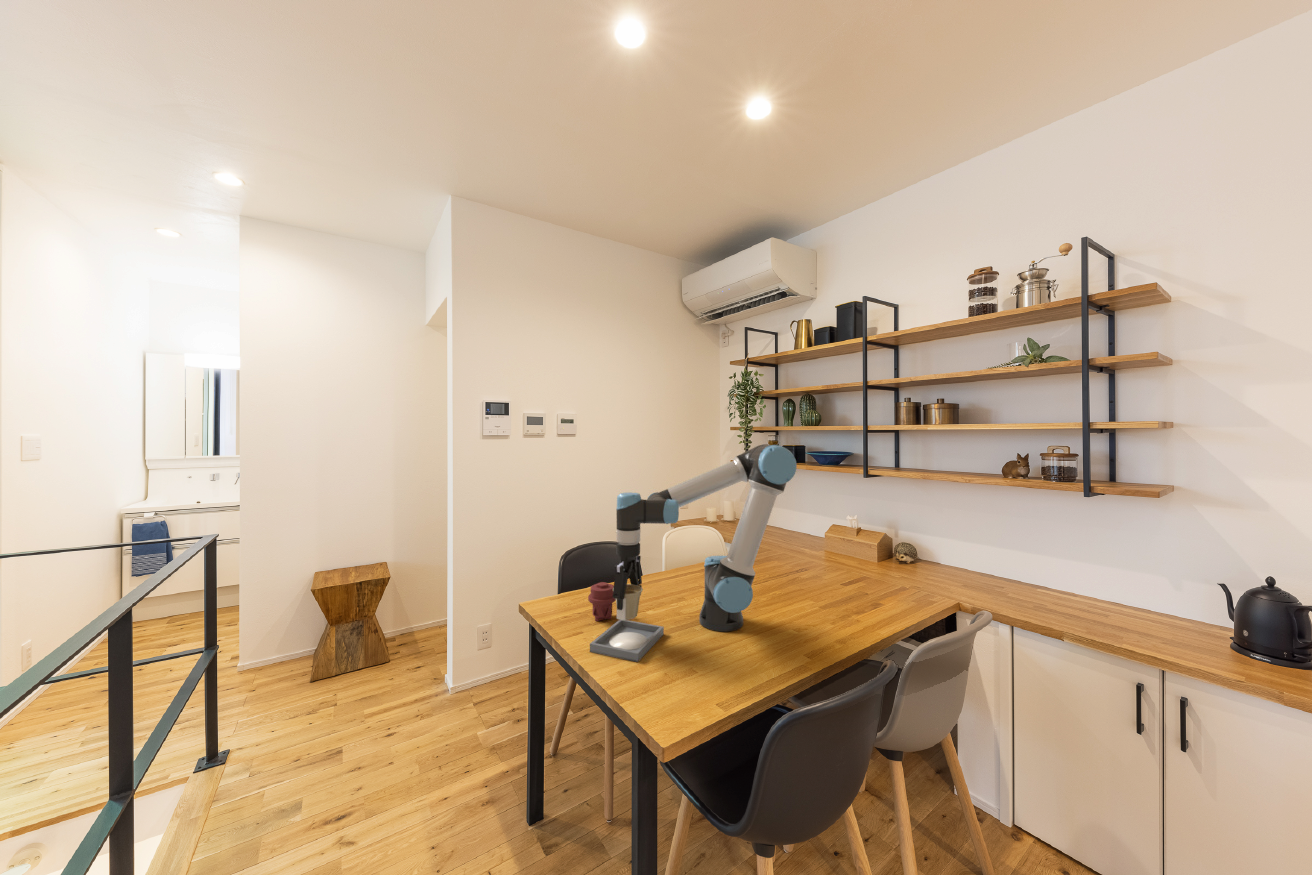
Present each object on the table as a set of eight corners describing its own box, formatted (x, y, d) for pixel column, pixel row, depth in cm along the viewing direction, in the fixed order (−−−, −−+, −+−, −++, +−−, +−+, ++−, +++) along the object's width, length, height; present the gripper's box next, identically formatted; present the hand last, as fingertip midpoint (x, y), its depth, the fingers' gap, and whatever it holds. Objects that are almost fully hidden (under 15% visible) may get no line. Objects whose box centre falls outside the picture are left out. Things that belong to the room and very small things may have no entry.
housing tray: (663, 634, 152) (663, 626, 152) (637, 662, 134) (637, 653, 134) (620, 626, 158) (620, 618, 158) (589, 651, 140) (589, 643, 140)
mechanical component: (592, 612, 171) (618, 613, 170) (585, 623, 161) (613, 624, 160) (592, 578, 170) (618, 579, 169) (585, 588, 161) (613, 589, 160)
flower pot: (628, 607, 153) (628, 581, 153) (648, 615, 146) (648, 588, 146) (606, 616, 146) (606, 588, 146) (626, 624, 139) (627, 596, 139)
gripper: (632, 534, 157) (631, 600, 157) (601, 548, 137) (600, 624, 138) (652, 536, 154) (652, 604, 154) (623, 551, 134) (623, 628, 135)
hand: (627, 613), depth 146 cm, fingers closed on flower pot, 8 cm apart
